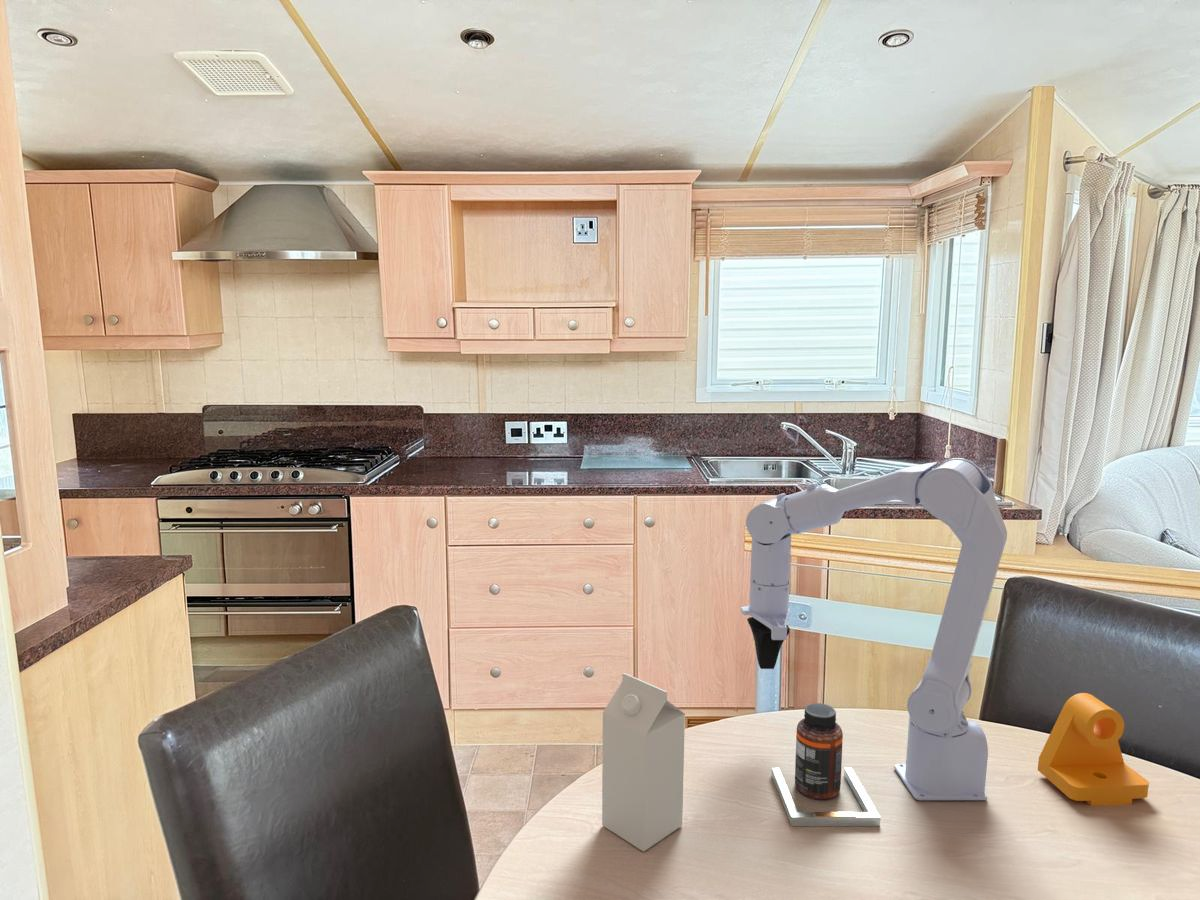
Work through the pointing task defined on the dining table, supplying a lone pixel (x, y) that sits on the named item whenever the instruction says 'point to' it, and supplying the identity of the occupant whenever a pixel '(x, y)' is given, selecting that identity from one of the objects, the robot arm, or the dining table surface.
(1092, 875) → the dining table surface
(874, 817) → the frame
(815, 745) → the supplement bottle
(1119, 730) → the bracket
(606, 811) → the milk carton
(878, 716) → the dining table surface
